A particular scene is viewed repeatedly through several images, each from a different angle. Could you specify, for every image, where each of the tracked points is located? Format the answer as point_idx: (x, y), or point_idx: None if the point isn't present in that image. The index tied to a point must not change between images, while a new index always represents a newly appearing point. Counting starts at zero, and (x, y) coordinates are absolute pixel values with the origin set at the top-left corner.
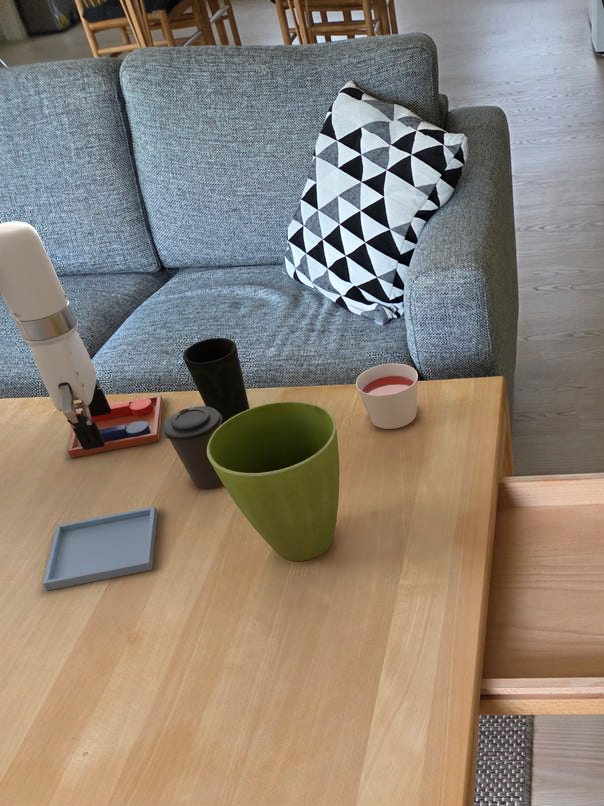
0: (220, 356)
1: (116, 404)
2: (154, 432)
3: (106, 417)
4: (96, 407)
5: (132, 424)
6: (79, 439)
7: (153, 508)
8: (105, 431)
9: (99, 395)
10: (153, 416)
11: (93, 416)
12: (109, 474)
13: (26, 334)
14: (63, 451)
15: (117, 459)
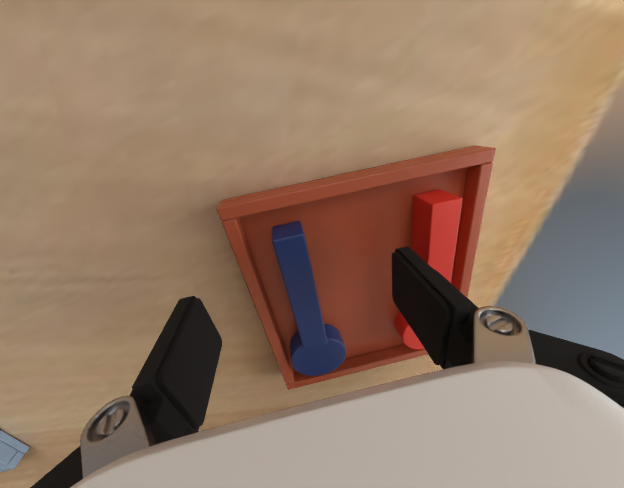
0: None
1: None
2: (296, 385)
3: (414, 251)
4: (406, 292)
5: (333, 347)
6: (167, 329)
7: (4, 470)
8: (299, 311)
9: (430, 347)
10: (383, 343)
11: (392, 256)
12: (147, 330)
13: None
14: (264, 155)
15: (217, 324)
